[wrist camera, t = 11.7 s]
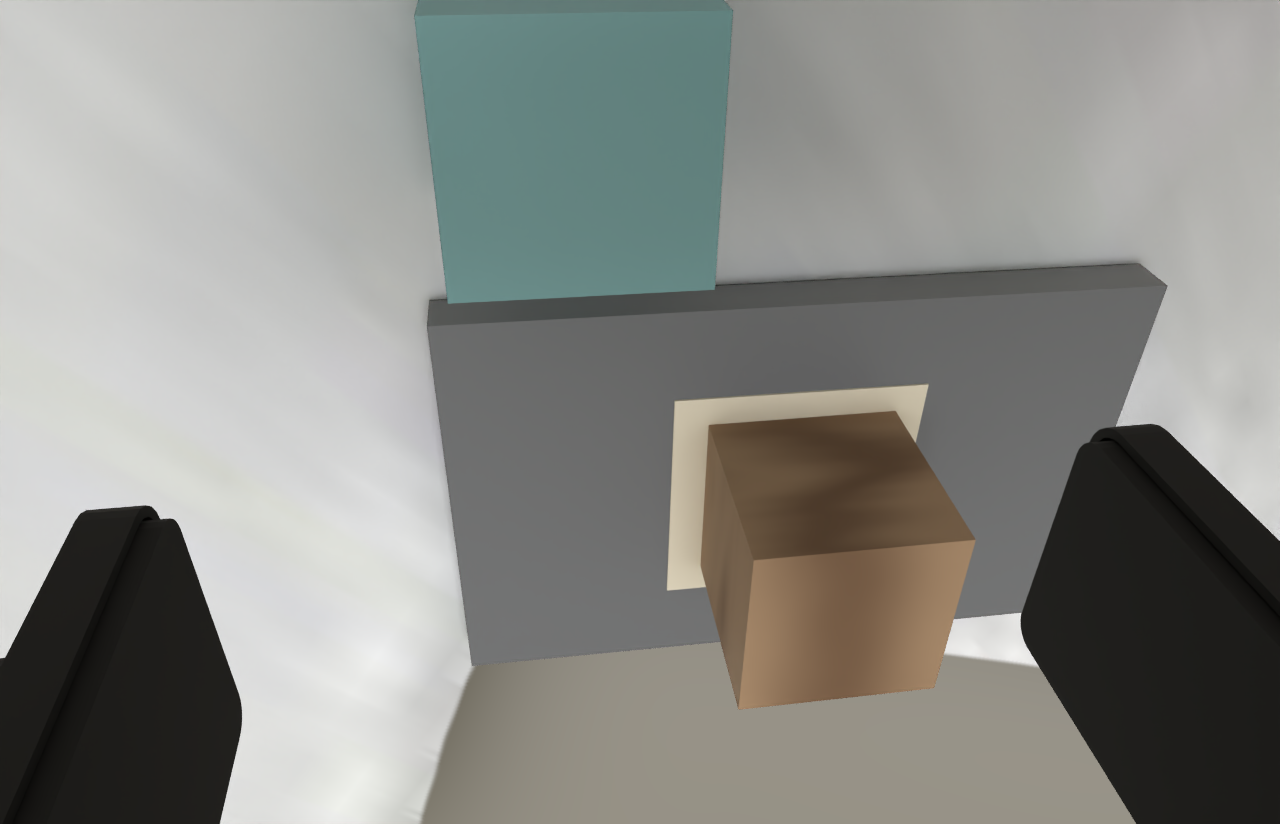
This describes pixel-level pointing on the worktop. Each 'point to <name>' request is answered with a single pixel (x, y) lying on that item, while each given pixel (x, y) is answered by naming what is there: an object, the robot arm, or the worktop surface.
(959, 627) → the worktop surface
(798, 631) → the walnut block
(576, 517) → the build plate
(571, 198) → the teal block
